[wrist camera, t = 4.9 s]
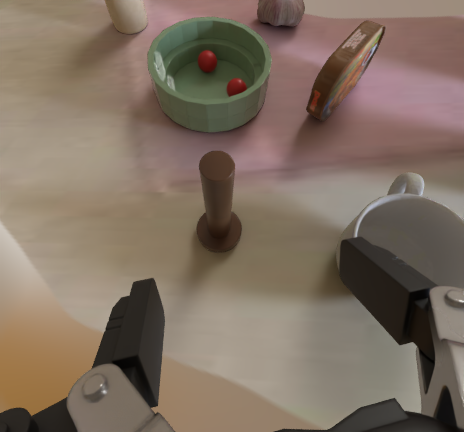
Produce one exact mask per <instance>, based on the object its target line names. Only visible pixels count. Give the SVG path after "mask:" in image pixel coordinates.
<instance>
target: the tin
mask: <svg viewBox="0 0 464 432" xmlns="http://www.w3.org/2000/svg"><path fill="white" fill-rule="evenodd" d="M385 30H386V26H385V25H380V24H377V23H374V22H372V21H364V22H363V23H361V24H360V25H359V26H358V27H357V29H355V31H354V32H353V33H352V34H351V35H350V36H349V37H348V38H347V39H346V40H345V41H344V42H343V43H342V44H341V45H340V46H339V47H338V48H337V50H336V51H335V52H334V53H333V54H332V55H331V56H330V57H329V59H328V60H327V61H326V63H325V64H324V66H323V67H322V69H321V71H320V73H319V74H318V76H317V78H316V80H315V83H314V85H313V88H312V92H311V96H310V99H309V102H308V106H307V108H306V110H307V112H308V113H309V114H311V115H313V116H315V117H316V118H318V119H320V120H321V121H324V120H326V119H327V118H328V117H329V116H330V114H331V113H332V112H333V111H334V110H335V109H336V107H337V106H338V105H339V104H340V103H341V101H342V100H343V99H344V98H345V97H346V96H347V95H348V93H349V92H350V91H351V90H352V89H353V87H354V86H355V85H356V84H357V82H358V81H359V79H360V78H361V76H362V75H363V73H364V72H365V70H366V69H367V67H368V65H369V63H370V62H371V60H372V58H373V56H374V54H375V52H376V51H377V49H378V47H379V45H380V43H381V40H382V38H383V36H384V33H385Z"/></svg>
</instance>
